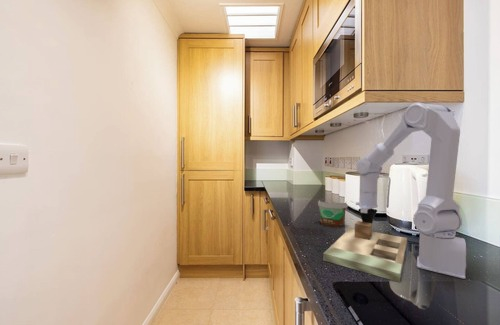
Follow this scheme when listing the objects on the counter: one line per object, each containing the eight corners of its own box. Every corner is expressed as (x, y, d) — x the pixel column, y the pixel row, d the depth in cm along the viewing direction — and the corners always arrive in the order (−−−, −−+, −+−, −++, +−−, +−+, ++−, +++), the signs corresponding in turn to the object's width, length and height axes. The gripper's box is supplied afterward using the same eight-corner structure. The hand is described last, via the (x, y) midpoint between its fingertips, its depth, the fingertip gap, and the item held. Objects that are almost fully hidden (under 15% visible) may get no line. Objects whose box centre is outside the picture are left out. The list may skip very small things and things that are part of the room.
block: (371, 236, 79) (372, 223, 79) (369, 240, 75) (369, 226, 75) (357, 233, 82) (357, 220, 81) (354, 237, 78) (354, 223, 78)
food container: (314, 225, 98) (315, 201, 98) (317, 221, 103) (318, 199, 103) (345, 229, 92) (346, 204, 92) (347, 225, 98) (347, 202, 97)
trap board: (407, 243, 78) (407, 238, 78) (399, 282, 54) (399, 273, 54) (350, 232, 88) (350, 227, 88) (323, 260, 64) (323, 253, 64)
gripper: (360, 188, 92) (359, 222, 92) (351, 193, 80) (350, 231, 80) (380, 190, 87) (379, 226, 88) (374, 195, 76) (373, 236, 76)
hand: (367, 229), depth 84 cm, fingers closed
